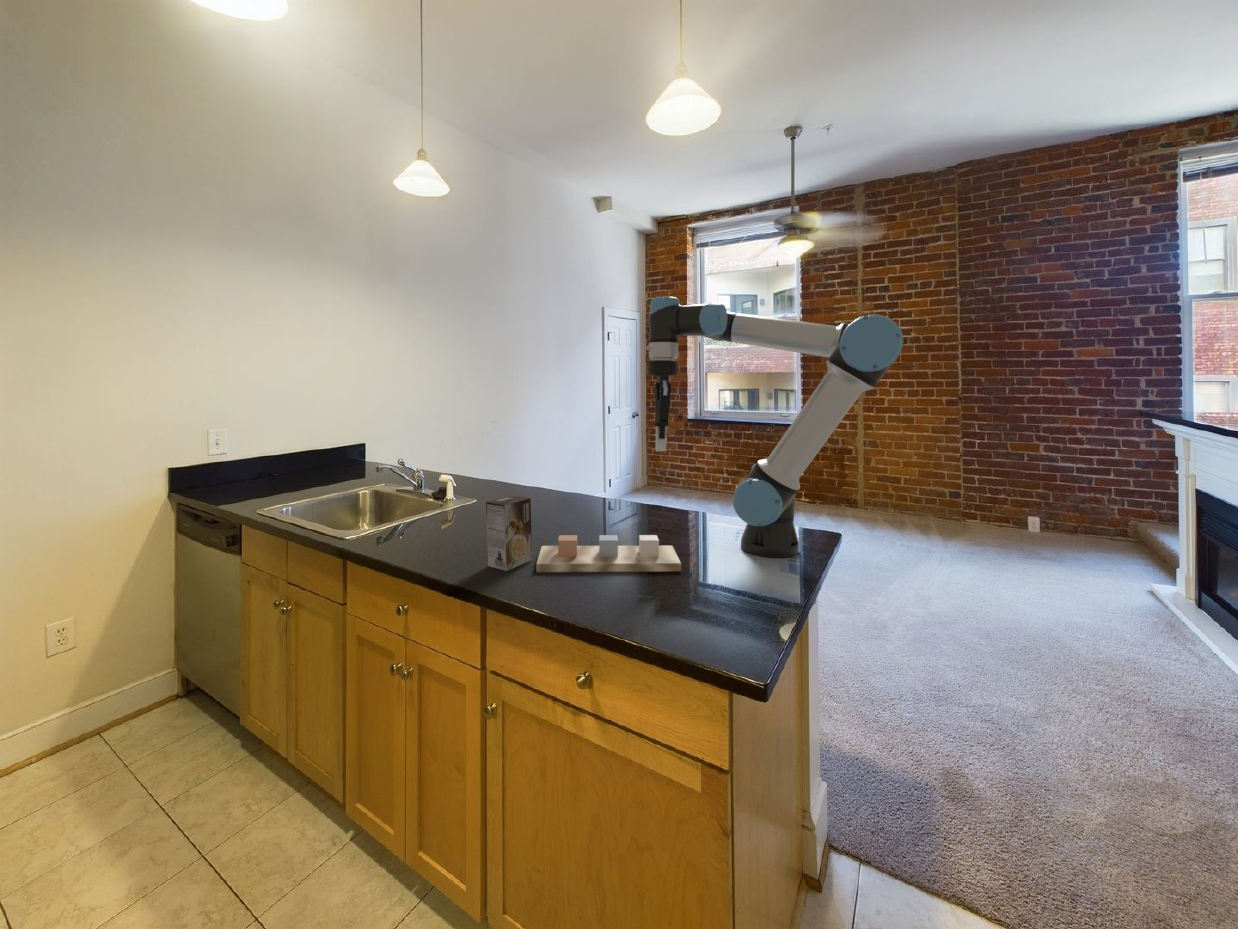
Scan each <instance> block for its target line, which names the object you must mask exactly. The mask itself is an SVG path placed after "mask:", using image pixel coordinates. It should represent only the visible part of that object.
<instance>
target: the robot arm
mask: <svg viewBox="0 0 1238 929" xmlns="http://www.w3.org/2000/svg"><path fill="white" fill-rule="evenodd" d="M648 319H649V320H648V322H649V324H648V325H649V327H648V329H649V330H648V331H649V333H648V337H649V338H648V342H649V343H648V346H646V350H647V351H648V359H650V360H649V361H648V365H647V366H648V370H647V371H648V372H647V373H648V375H649V376H656V382H654V383H653V384H654V385H653V389H654V409H655V410H654V414H655V415H654V416H655V417H654V427H655V446H654V447H655V452H667V441H668V440H667V436H668V435H667V433H668V426H669V421H670V420H669V418H670V417H669V414H670V413H669V412H670V402H671V401H670V399H671V391H672V383H671V382H670V381H669V380H670V378H669V376H670V377H673V376H677V375H678V366H679V365H678V364H679V363H678V361H677V359H679V337H685V336H686V337H688V336H689V337H693V336H696V337H697V336H698V337H704V338H708V339H711V340H713V341H718V342H729V343H734V344H735V343H736V344H742V345H750V346H755V347H762V348H769V349H774V350H778V351H779V350H780V351H785V352H793V353H798V354H799V353H800V354H805V355H811V356H818V357H825V358H828V359H827V360H826V367H827V372H826V374H825V375H824V376H823V378H822V379H821V381H820V382H819V384H818V385H817V387H816V388H815V389H814V391H813V392H812V394H811V395H810V397H809V398H808V400H807V401H806V402H805V404H804V406H802V408H801V410H800V411H799V413H798V414H797V416H795V418H794V420H793V421H792V422H791V424H790V426H789V427H788V429H787V430H786V431H785V432H784V434H783V435H782V437H781V438H780V440H779V441H778V443H777V444H776V446H775V447H774V449H773V450H772V451H771V453H770V454H769V456H768V457H767V458H764V459H763V458H762V459H759V460H757V462H756V463H755V464H753V465H752V466H751V470H750V472H749V474H748V475H746V478H745V479H744V480H743V481H741V482H739V484H738V485H737V486H736V487H735V489H734V493H733V495H732V505H733V509H734V511H735V513H736V514H737V517H738V518H740V519H741V520H742V521H743V522H744V523H746V524H745V525H746V526H745V528H744V531H743V532H742V536H741V539H740V548H741V549H742V550H743V551H745V552H747V553H750V554H752V555H755V556H759V557H760V556H761V557H768V558H789V557H793V556H796V555H797V553H798V554H799V553H800V552H799V551H800V543H799V538H798V535H797V532H796V527H795V524H794V523H795V522H794V519H795V507H796V506H795V505H796V494H797V493H798V492H799V490H800V489H801V483H800V478H801V477H802V475H803V473H804V472H805V471H806V469H807V468H808V467H809V465H810V464H811V463H812V461H813V460H814V459H815V457H816V456H817V454H818V453H819V452H820V450H821V449H822V448H823V446H824V445H825V443H826V442H827V441H828V439H829V438H830V437H831V435H832V434H833V433H834V431H835V430H836V429H837V427H838V426H839V424H840V423H841V422H842V420H843V419H844V418H845V416H846V415H847V413H848V412H849V410H851V408H852V407H853V405H854V404H855V403H856V401H857V400H858V399H859V397H860V396H861V394H862V393H864V392H865V391H870V390H874V389H875V388H876V387H877V385H878V383H879V382H880V381H881V379H882V378H883V377H884V375H885V374H886V373H887V372H888V370H889V369H890V368H891V366H892V365H893V364H895V362H896V361H897V360H898V359H899V358H900V357H899V356H900V355H901V353H902V350H903V346H904V334H903V331H902V329H901V327H900V325H898V323H897V322H896V321H894V320H892V318H890V317H887V316H885V315H882V314H874V313H873V314H866V315H864V316H860V317H858V318H856V319H854V320H853V321H852V322H850V323H848V322H842V323H841V324H840V325H838V326H837V325H830V324H824V323H816V322H815V323H814V322H808V321H801V320H793V319H784V318H779V317H778V318H777V317H776V318H775V317H771V316H760V315H752V314H745V313H738V312H731V311H728V310H727V309H726V306H725V304H724V303H718V302H717V303H712V302H707V303H700V304H699V303H698V304H687V305H686V304H681V303H680V300H679V298H677V297H674V296H658V297H657V296H656V297H654V298H652V299H651V301H650V304H649V314H648Z"/></svg>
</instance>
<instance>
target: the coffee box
mask: <svg viewBox="0 0 1238 929" xmlns="http://www.w3.org/2000/svg"><path fill="white" fill-rule="evenodd" d="M531 504H532V503H531V498H530V497H524V496H518V495H508V496H504V497H501V498H500V497H499V498H496V499H493V500H488V501H485V508H486V509H485V510H486V511H485V512H486V536H487V537H486V538H487V542H486V544H487V566H488V567H489V568H493V569H497V570H500V571H501V570H502V571H505V572H507V571H510V570H513V569H515V568H518V567H520V566H522V565H524V564H525V565H526V564H527V563H529V562H531V561H533V552H532V550H533V549H532V548H533V545H532V507H531V506H532V505H531Z"/></svg>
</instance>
